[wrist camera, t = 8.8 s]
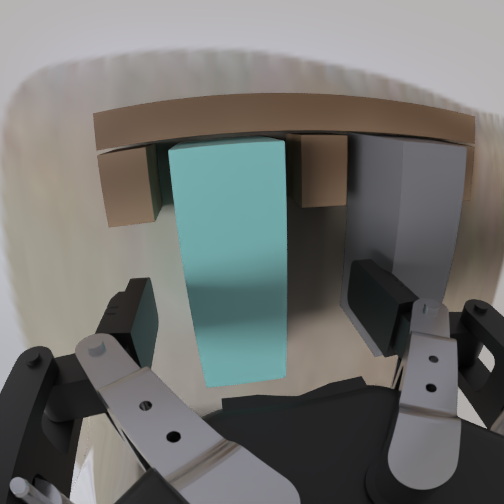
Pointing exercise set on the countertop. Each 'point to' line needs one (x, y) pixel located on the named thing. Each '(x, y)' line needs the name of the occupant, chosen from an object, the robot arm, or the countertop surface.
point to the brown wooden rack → (259, 119)
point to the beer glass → (105, 466)
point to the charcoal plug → (403, 212)
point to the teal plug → (234, 253)
